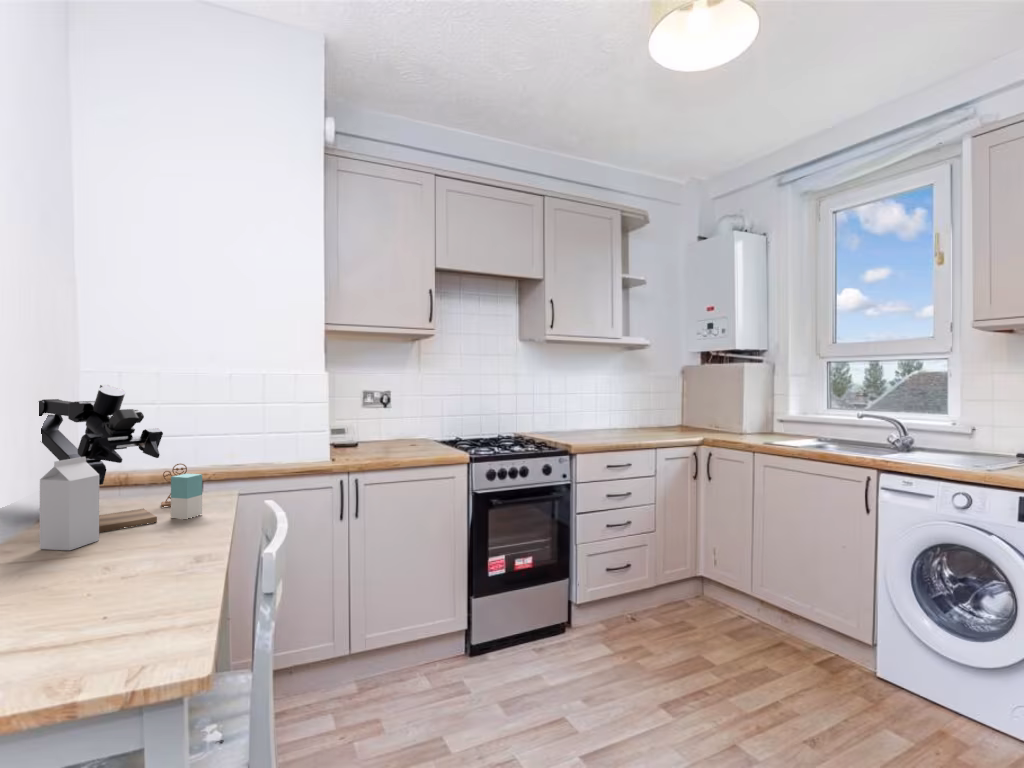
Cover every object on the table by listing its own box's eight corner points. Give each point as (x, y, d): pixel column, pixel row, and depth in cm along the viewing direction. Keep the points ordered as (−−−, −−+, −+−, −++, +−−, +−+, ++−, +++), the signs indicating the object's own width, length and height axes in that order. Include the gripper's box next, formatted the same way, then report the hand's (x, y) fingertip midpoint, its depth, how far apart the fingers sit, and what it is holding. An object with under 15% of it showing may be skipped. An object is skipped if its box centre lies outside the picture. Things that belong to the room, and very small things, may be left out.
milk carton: (99, 541, 116) (99, 457, 116) (69, 551, 109) (69, 462, 109) (70, 539, 117) (71, 456, 117) (39, 550, 110) (39, 461, 110)
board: (86, 523, 130) (86, 517, 130) (143, 514, 139) (143, 508, 139) (97, 532, 122) (97, 526, 122) (156, 522, 131) (156, 516, 131)
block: (170, 518, 135) (170, 476, 135) (186, 513, 140) (186, 473, 140) (187, 519, 134) (187, 477, 134) (202, 514, 139) (202, 474, 139)
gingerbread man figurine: (197, 501, 154) (197, 461, 154) (197, 504, 151) (198, 463, 151) (161, 505, 149) (161, 463, 149) (161, 508, 146) (161, 465, 146)
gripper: (75, 403, 129) (110, 435, 124) (152, 401, 146) (185, 429, 141) (63, 442, 131) (96, 474, 126) (140, 435, 148) (172, 463, 143)
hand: (140, 458), depth 134 cm, fingers open, 9 cm apart
